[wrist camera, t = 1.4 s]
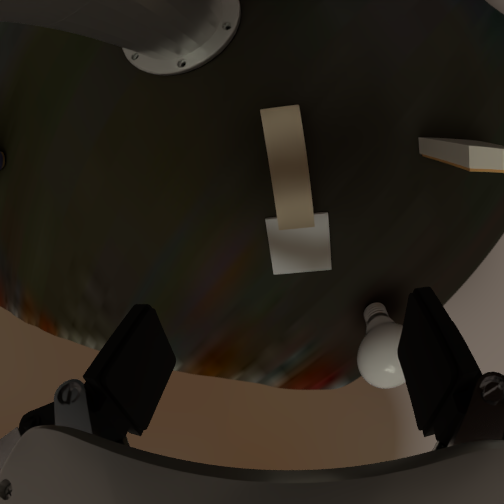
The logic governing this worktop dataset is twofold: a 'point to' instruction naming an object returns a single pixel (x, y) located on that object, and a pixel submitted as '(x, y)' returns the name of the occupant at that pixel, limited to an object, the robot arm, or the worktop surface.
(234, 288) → the worktop surface
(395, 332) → the lightbulb
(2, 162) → the rubber mallet
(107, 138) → the worktop surface
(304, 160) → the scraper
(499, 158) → the tile
